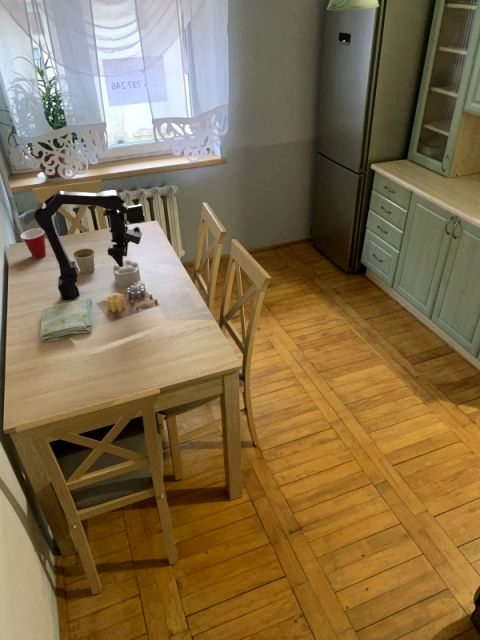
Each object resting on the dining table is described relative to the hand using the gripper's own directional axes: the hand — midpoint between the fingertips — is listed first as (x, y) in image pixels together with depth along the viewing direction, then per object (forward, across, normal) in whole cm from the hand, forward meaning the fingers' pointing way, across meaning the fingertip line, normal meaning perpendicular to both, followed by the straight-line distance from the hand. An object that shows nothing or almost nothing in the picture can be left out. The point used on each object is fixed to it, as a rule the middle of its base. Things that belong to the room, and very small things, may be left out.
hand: (123, 261), depth 186 cm
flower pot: (+14, +18, +21) cm, 31 cm away
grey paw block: (+14, +8, +1) cm, 16 cm away
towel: (+14, -24, +18) cm, 33 cm away
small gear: (+13, 0, -5) cm, 14 cm away
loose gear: (+12, -15, +1) cm, 19 cm away
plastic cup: (+14, +34, +48) cm, 61 cm away
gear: (+12, -6, -5) cm, 14 cm away
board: (+13, -13, -2) cm, 19 cm away
